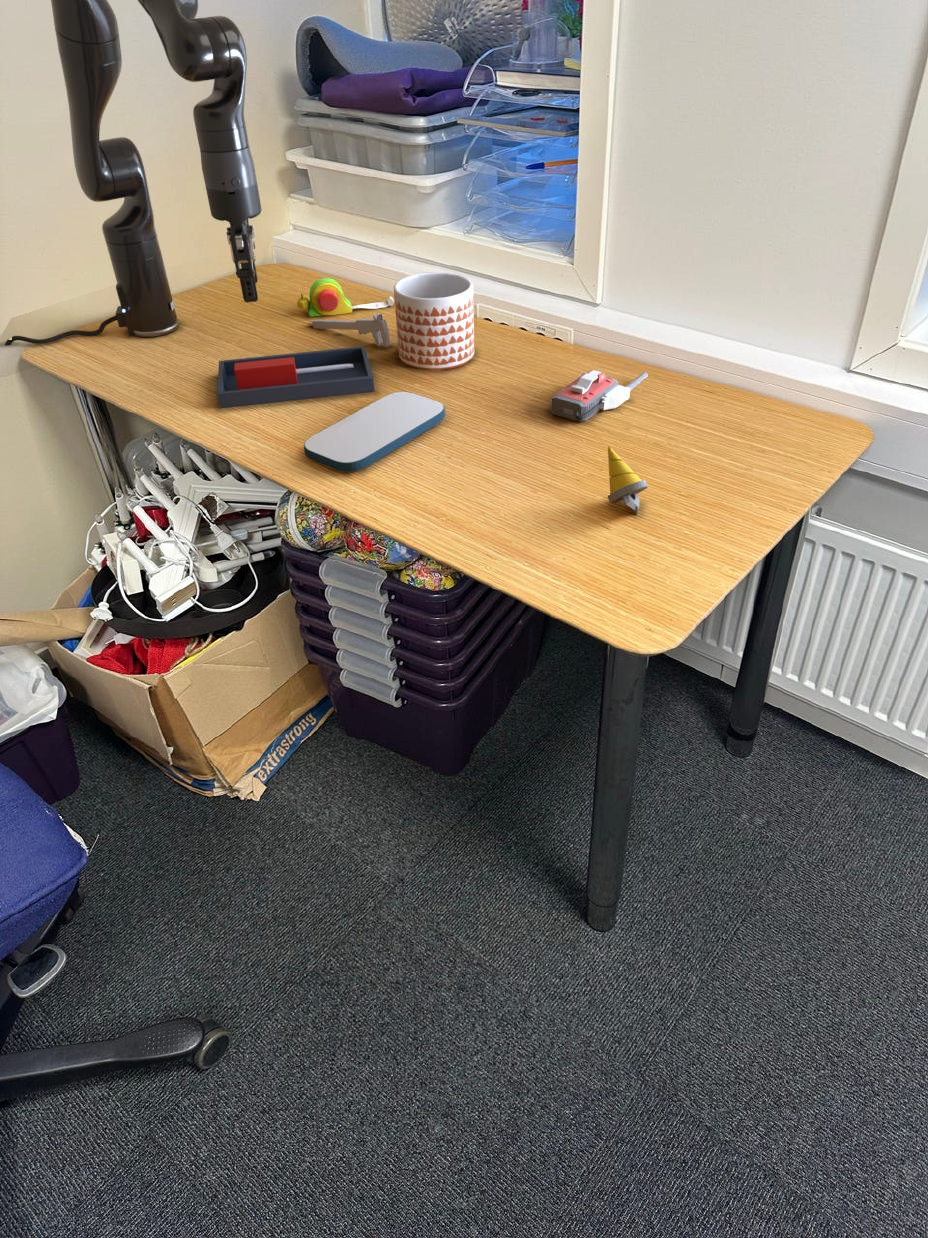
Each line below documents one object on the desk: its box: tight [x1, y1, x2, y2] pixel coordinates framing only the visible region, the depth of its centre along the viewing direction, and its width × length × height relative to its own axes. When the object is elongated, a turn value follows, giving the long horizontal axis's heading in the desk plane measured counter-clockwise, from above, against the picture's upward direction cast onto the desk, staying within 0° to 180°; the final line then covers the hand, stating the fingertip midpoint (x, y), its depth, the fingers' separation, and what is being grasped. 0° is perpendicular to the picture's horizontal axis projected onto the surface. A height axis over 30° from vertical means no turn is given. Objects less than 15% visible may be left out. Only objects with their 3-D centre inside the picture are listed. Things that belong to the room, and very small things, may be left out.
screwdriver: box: [234, 357, 353, 390], centre depth 148 cm, size 20×3×4 cm, turn 101°
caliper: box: [308, 312, 391, 348], centre depth 164 cm, size 20×1×6 cm, turn 53°
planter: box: [393, 271, 475, 371], centre depth 153 cm, size 14×14×13 cm
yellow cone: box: [607, 446, 649, 515], centre depth 116 cm, size 5×5×10 cm
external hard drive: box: [303, 391, 446, 473], centre depth 134 cm, size 24×12×2 cm, turn 142°
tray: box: [216, 345, 376, 409], centre depth 149 cm, size 26×14×3 cm, turn 101°
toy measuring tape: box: [296, 277, 395, 318], centre depth 174 cm, size 6×20×7 cm, turn 104°
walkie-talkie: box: [550, 369, 649, 423], centre depth 141 cm, size 9×4×20 cm
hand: (251, 291), depth 139 cm, fingers open, 8 cm apart
